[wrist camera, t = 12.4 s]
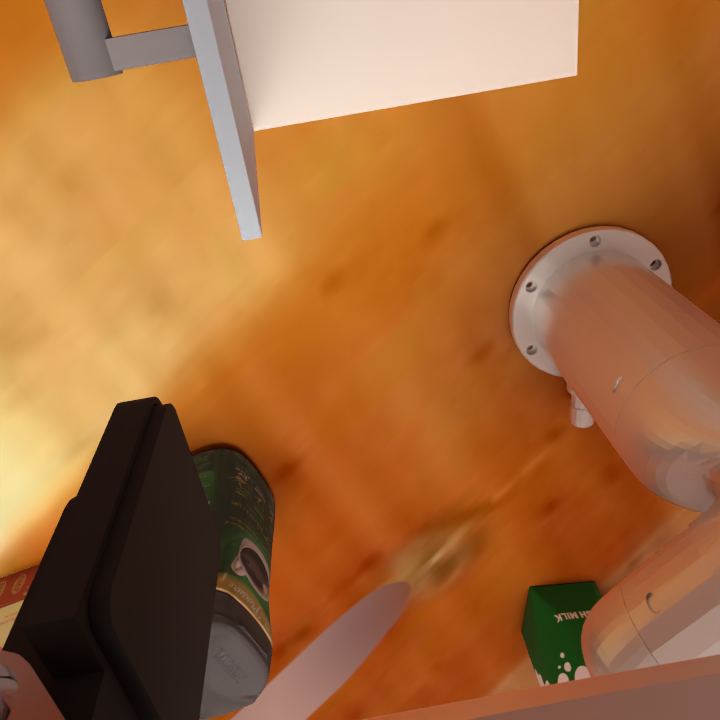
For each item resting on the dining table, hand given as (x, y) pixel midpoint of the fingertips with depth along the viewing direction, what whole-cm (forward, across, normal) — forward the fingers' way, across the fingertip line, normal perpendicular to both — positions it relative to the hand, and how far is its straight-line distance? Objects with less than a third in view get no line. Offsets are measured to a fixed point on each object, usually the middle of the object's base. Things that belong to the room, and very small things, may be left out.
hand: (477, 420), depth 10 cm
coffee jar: (+36, +15, +30) cm, 49 cm away
